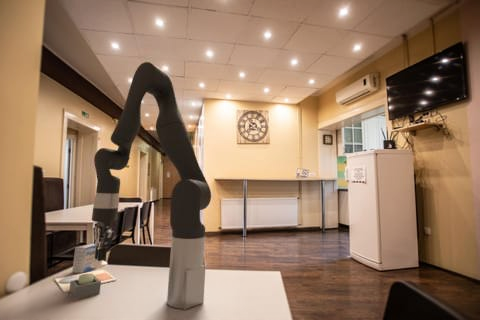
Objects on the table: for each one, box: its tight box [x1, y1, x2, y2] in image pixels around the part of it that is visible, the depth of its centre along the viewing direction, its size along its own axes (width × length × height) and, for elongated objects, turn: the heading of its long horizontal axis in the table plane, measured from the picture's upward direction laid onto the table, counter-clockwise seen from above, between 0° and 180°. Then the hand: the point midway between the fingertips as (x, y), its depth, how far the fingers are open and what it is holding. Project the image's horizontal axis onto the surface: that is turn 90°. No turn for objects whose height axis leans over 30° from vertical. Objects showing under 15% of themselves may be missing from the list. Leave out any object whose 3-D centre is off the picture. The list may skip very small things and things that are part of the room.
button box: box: [68, 276, 102, 301], centre depth 66 cm, size 6×6×3 cm
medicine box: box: [72, 242, 97, 274], centre depth 86 cm, size 8×4×9 cm, turn 171°
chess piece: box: [90, 238, 108, 269], centre depth 77 cm, size 5×5×10 cm
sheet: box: [54, 269, 117, 294], centre depth 75 cm, size 13×14×1 cm
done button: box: [78, 274, 94, 285], centre depth 66 cm, size 4×4×2 cm
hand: (99, 259), depth 77 cm, fingers closed on chess piece
